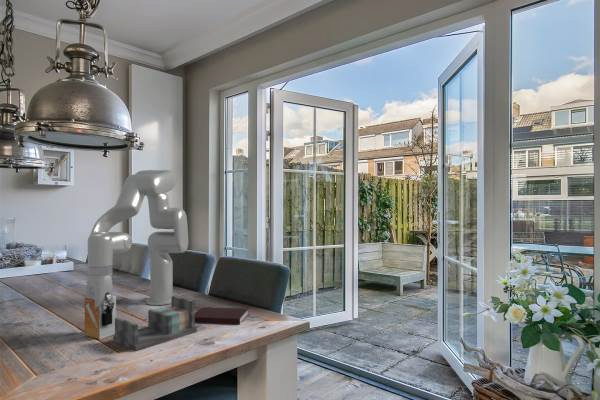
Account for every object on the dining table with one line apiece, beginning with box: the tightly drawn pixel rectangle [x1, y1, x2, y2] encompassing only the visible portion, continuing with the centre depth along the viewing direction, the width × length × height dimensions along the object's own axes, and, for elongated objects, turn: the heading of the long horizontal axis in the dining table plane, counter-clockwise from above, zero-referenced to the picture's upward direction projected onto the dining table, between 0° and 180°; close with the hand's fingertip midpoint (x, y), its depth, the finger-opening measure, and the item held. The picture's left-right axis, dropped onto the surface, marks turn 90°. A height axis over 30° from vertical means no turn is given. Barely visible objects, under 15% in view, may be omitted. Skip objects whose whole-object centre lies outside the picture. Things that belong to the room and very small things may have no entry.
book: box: [195, 306, 249, 326], centre depth 147 cm, size 12×19×3 cm, turn 82°
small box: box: [84, 295, 117, 340], centre depth 129 cm, size 8×6×13 cm
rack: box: [112, 295, 197, 352], centre depth 128 cm, size 14×22×10 cm, turn 142°
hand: (100, 322), depth 129 cm, fingers closed on small box, 8 cm apart
